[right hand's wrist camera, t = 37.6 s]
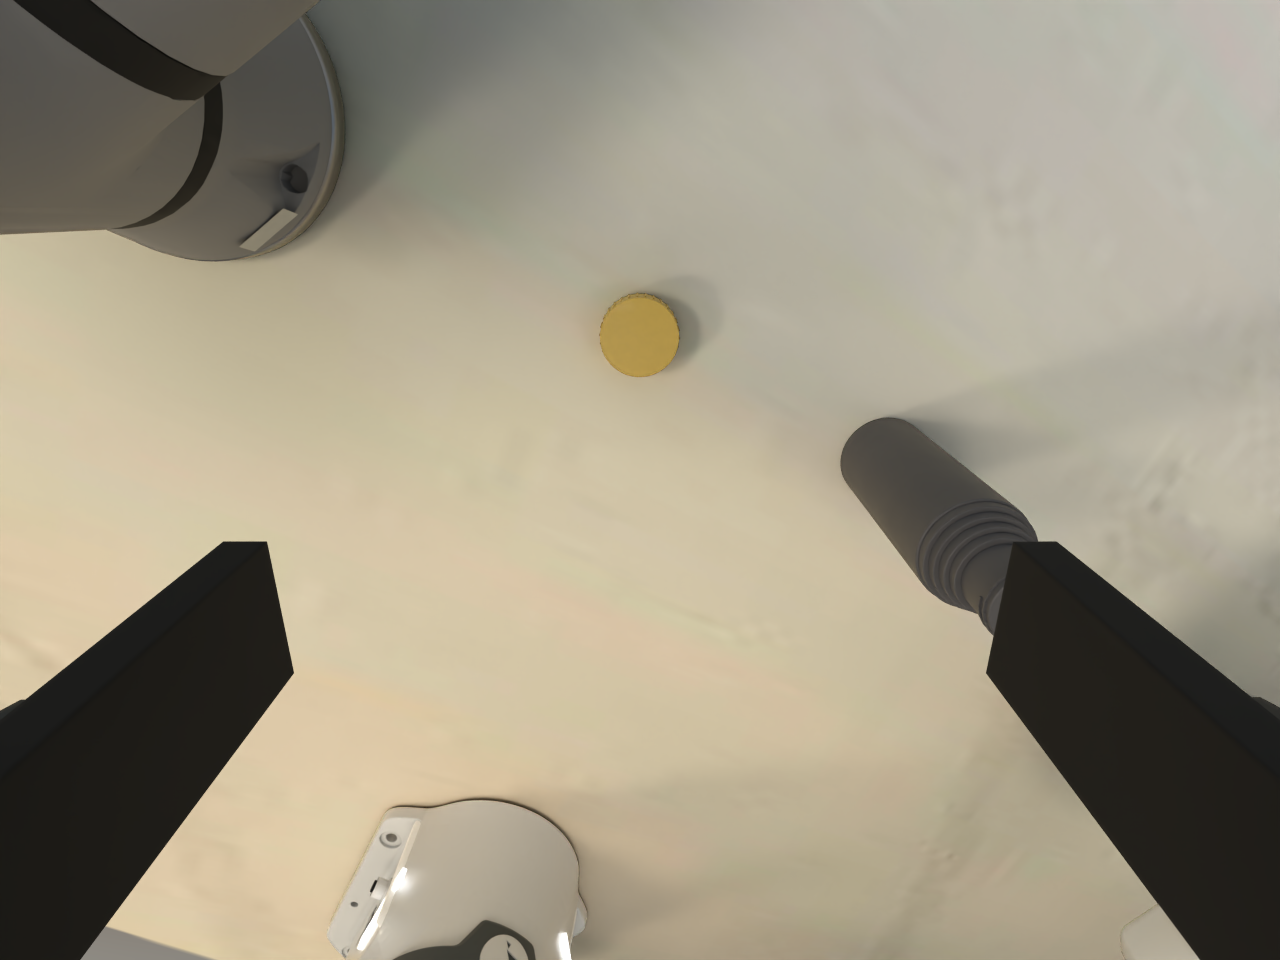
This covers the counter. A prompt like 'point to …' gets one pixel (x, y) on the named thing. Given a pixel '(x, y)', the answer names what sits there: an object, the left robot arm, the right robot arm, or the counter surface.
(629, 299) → the cap
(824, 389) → the counter surface
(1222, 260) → the counter surface
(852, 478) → the bottle
